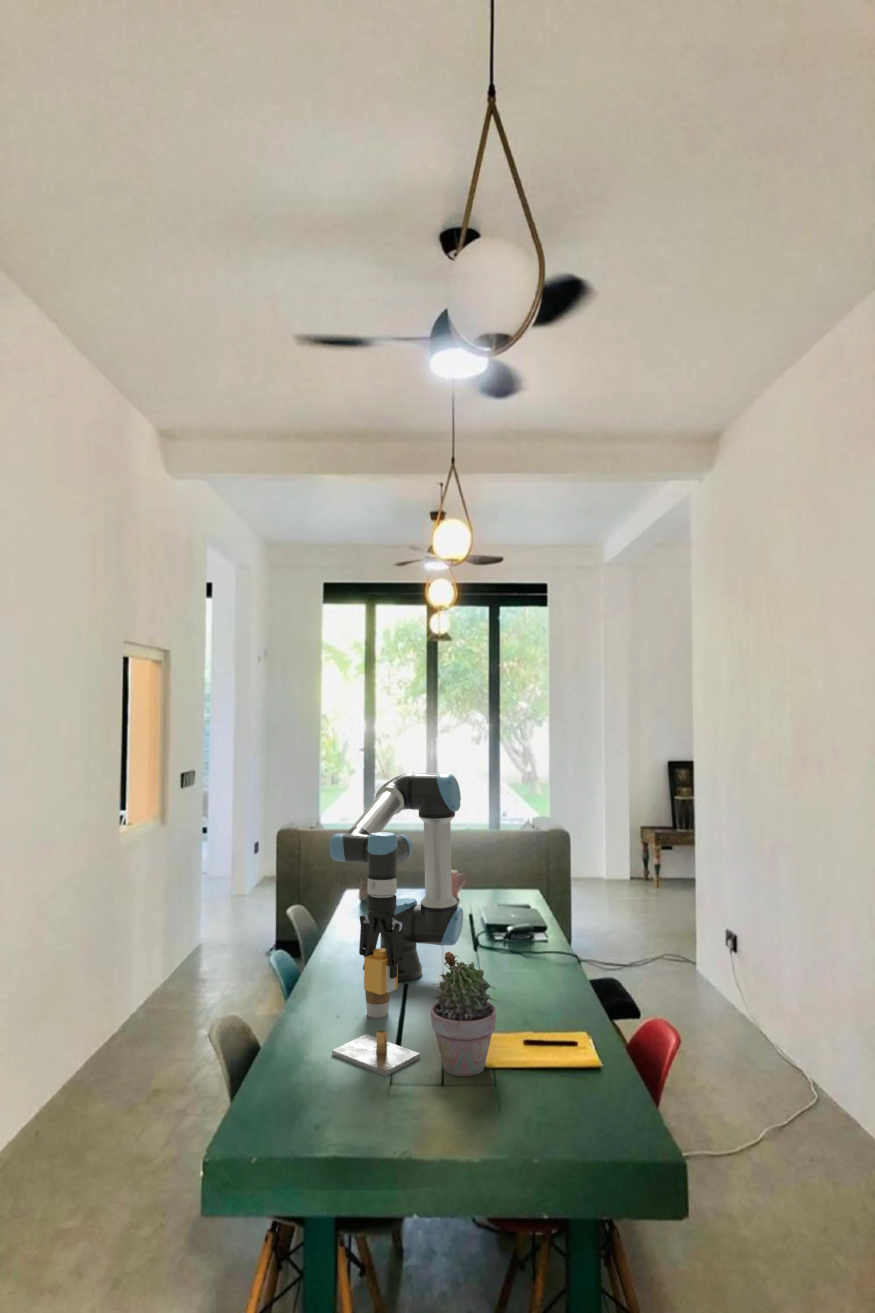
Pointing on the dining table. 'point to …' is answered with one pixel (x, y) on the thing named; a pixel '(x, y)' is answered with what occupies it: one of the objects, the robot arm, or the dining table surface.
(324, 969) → the dining table surface
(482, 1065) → the potted plant
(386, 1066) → the plate
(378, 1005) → the coffee cup
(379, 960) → the orange knobbed block
